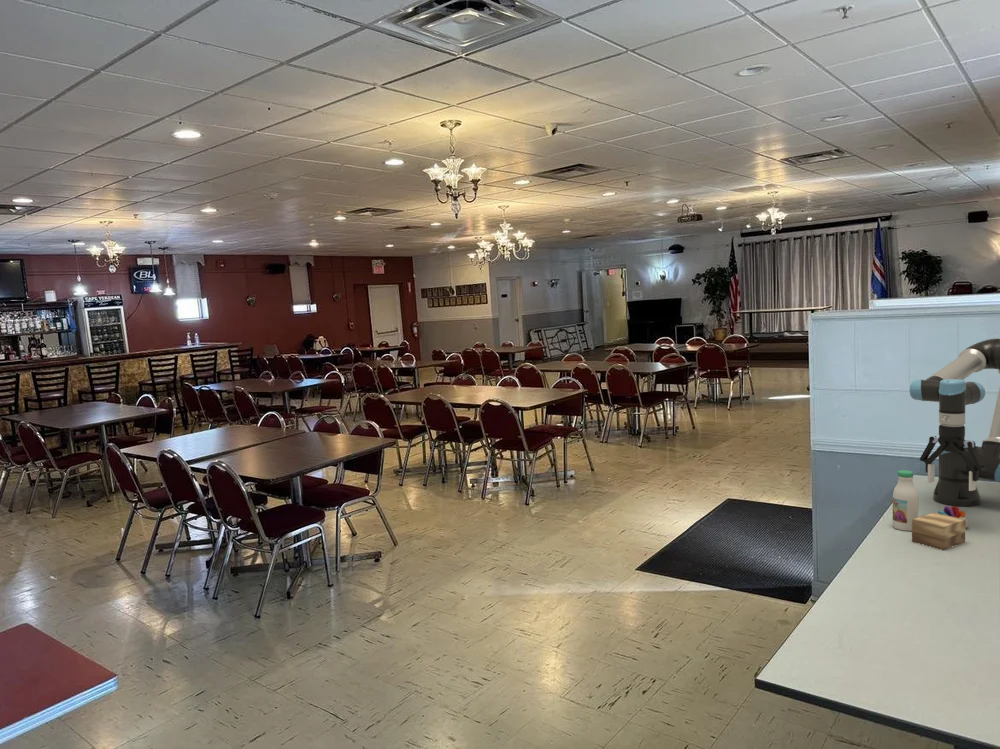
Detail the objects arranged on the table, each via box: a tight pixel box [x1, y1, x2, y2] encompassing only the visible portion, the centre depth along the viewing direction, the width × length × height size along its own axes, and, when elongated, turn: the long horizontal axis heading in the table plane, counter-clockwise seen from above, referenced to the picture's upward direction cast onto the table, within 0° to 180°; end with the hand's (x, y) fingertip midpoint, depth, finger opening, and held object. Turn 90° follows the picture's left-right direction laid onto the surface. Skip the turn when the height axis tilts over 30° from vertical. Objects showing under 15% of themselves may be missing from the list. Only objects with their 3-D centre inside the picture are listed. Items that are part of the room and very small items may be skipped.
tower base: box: [911, 531, 966, 551], centre depth 227 cm, size 12×10×4 cm
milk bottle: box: [892, 469, 919, 532], centre depth 241 cm, size 8×8×20 cm
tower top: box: [911, 512, 967, 539], centre depth 226 cm, size 12×10×4 cm
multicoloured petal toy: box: [937, 505, 969, 528], centre depth 240 cm, size 8×10×7 cm
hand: (951, 486), depth 239 cm, fingers open, 13 cm apart
